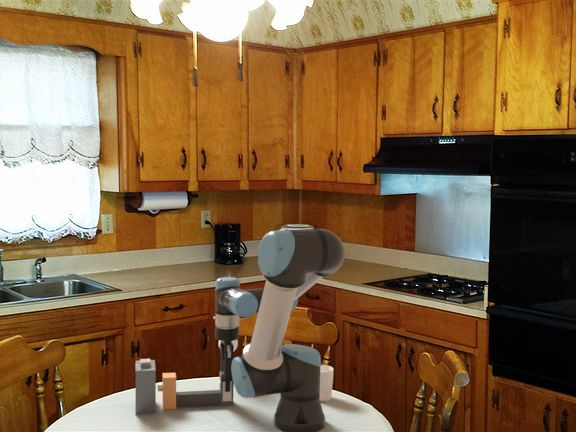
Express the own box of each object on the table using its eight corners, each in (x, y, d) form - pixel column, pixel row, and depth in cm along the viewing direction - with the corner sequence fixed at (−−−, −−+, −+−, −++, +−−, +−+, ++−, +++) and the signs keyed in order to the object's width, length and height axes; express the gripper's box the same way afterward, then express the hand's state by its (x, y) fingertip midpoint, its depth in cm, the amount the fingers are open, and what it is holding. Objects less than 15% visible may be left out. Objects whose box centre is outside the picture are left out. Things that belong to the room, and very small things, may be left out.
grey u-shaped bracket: (154, 401, 232) (154, 355, 231) (155, 413, 221) (155, 365, 220) (135, 402, 231) (135, 356, 229) (135, 414, 220) (135, 366, 219)
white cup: (331, 403, 233) (331, 372, 232) (306, 401, 235) (307, 371, 234) (334, 395, 241) (335, 365, 240) (311, 393, 242) (311, 364, 242)
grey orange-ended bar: (231, 400, 234) (231, 370, 233) (233, 405, 229) (233, 374, 228) (157, 404, 229) (157, 373, 228) (158, 409, 224) (158, 378, 223)
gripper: (212, 320, 236) (211, 390, 238) (218, 333, 220) (217, 408, 222) (235, 320, 238) (234, 389, 240) (242, 332, 222) (241, 406, 224)
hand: (226, 398), depth 231 cm, fingers closed on grey orange-ended bar, 3 cm apart
